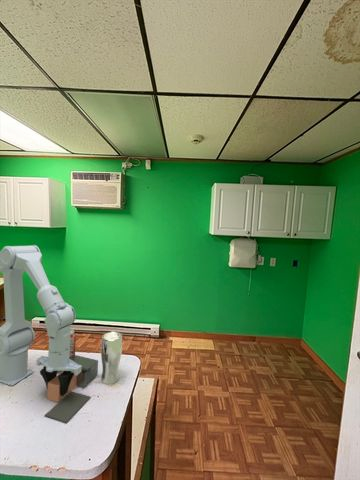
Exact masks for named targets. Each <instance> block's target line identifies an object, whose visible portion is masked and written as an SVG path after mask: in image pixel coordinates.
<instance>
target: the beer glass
mask: <svg viewBox="0 0 360 480" xmlns="http://www.w3.org/2000/svg"><path fill="white" fill-rule="evenodd" d="M122 352H123V334H122V333H121V332H119V331H109V332H106V333H104V334H103V335H102V336H101V344H100V358H101V365H102V373H101V376H100V382H101V383H102V384H103V385H113V384H115V383H118V381H119V380H120V372H119V371H120V370H119V368H120V362H121V357H122V354H123V353H122Z"/></svg>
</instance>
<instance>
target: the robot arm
mask: <svg viewBox="0 0 360 480" xmlns="http://www.w3.org/2000/svg"><path fill="white" fill-rule="evenodd" d="M42 259H43V254H42V252H41V250H40V248H39V247H38V246H37V245H36V244H33V245H31V244H30V245H13V246H12V245H11V246H10V245H6V246H5V245H4V247H3V248H2V249H1V250H0V272H1V273H3V274H2V277H3V278H2V279H3V293H4V295H3V297H4V313H5V315H4V316H5V323H3V324H2V326H0V383H2V384H5V385H8V386H14V385H16V384H17V383H19V382H21V381H22V380H23V379H25V378H27V377H29V376H30V375H32V374H33V373H34V370H35V369H34V370H33V369H29V368H28V367H29V366H28V365H29V364H28V361H29V357H28V356H29V348H31V344H33V343H34V341H35V337H36V335H35V331H34V328H33V322H31V321H29V320H27V319H26V318H25V300H24V299H25V298H24V284H23V283H24V281H23V274H24V273H26V274H27V275H28V276H29V278H30V280H31V282H32V283H33V285H34V286H35V288H36V289H37V293H36V299H37V300H38V302H39V304H40V306H41V308H42V310H43V311H44V313H45V318H44V324H45V327H46V332H47V336H48V356H44V355H41V356H40V357H38V358H36V366H43V368H42V369H41V370H39V375H40V376H41V377H42V379H43V380H44V383H45V386H46V390H47V391H48V382H49V381H51V380H52V379H53V378H55V377H56V376H57V375H58V374H57V373H58V371H63V372H62V373H61V374H60V375H58V379H59V382H60V395H61V396H64V395H65V394H66V393H67V391H68V388H69V385H70V382H71V379H72V377H73V376H74V375H78V374H79V373H80V372H81V369H82V366H81V365H78V364H77V363H75V362H74V361H72V360H71V359H69V357H70V334H71V329H72V328H71V327H72V324H73V323H75V322H76V317H77V315H76V311H75V308H74V307H73V306H72V305H69V303H67V302H65V300H64V299H63V296H62V294H61V293H60V292H59V290H58V288H57V286H54V285H52V284H51V283H50V280H49V279H48V277H47V274H46V272H45V270H44V267H43V265H42Z"/></svg>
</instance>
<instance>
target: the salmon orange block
mask: <svg viewBox="0 0 360 480" xmlns="http://www.w3.org/2000/svg"><path fill="white" fill-rule="evenodd" d="M62 372H63V371H62ZM62 372H61V373H62ZM61 373H60V374H61ZM60 374H59V373H58V374H57V375H56V377H55V378H53V379H52V380H51V381H49V382H48V390H47V393H46V394H47V397H46V399H47V400H50V401H53V402H55V403H59V402H60V401H61V400H62V399H63V398H64V397H65V396H66V395H67V394H69V393H70V392H71V391H73V390H74V389H75V388H76V387H78V375H74V376H73V377H72V379H71V382H70V385H69V388H68V391H67V393H66V394H65V395H64V396H61V395H60V382H59V379H58V375H60Z"/></svg>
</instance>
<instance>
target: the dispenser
mask: <svg viewBox="0 0 360 480" xmlns="http://www.w3.org/2000/svg"><path fill="white" fill-rule="evenodd" d="M69 359H71V360H72V361H74V362H75V363H77V364H78V365H81V366H82V369H81V372H80V373H79V374H78V385H77V387H78V388H81V389H85V388H86V387H87V386H88V385H90V384H91V383H92V381H93V380H94V379H95V378H96V377H98V372H99V369H98V368H99V360H98V359H93V358H89V357H85V356H82V355H76V354H75V355H73V356H71V357H70V358H69ZM61 372H62V371H59V372H58V374H60V373H61Z"/></svg>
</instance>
